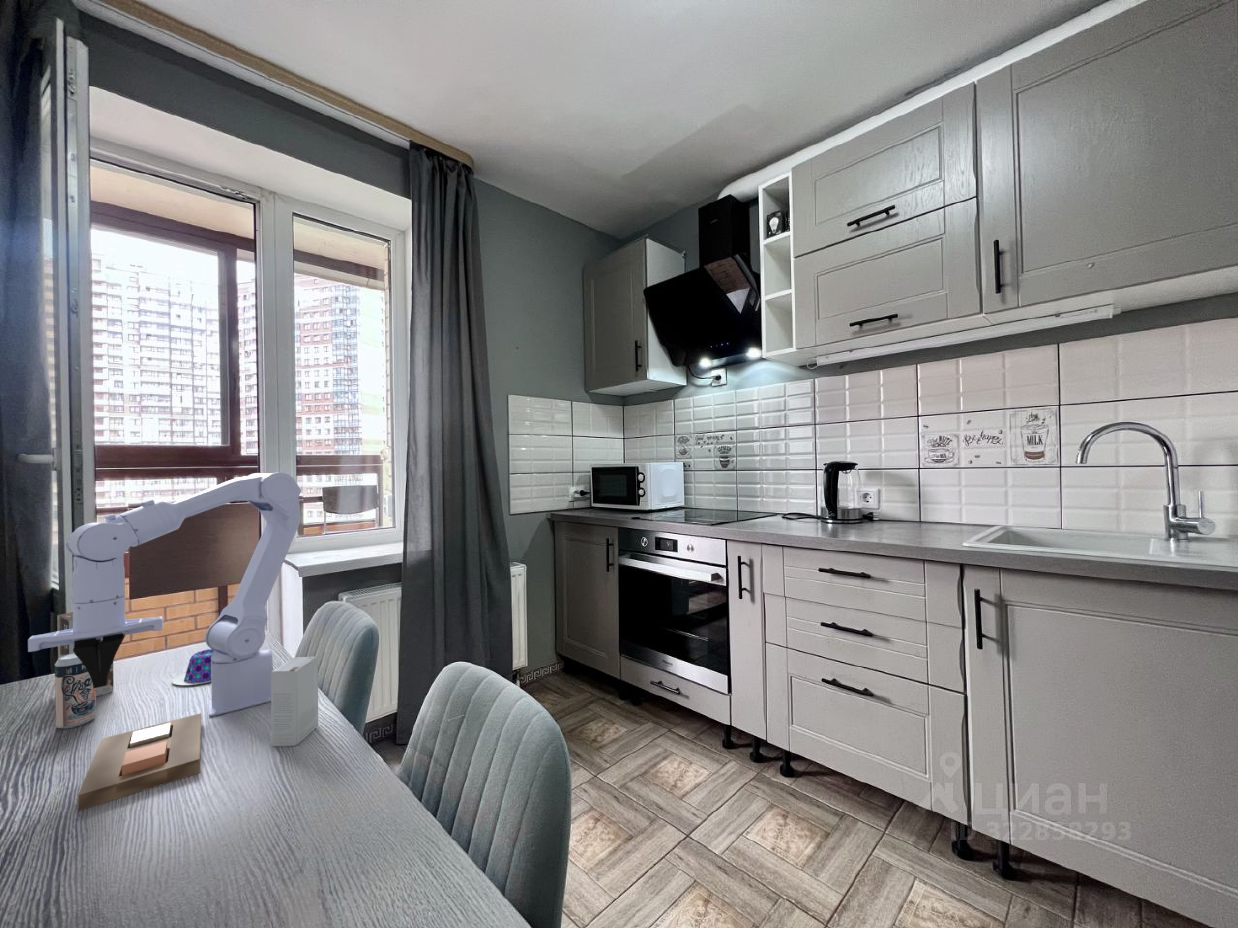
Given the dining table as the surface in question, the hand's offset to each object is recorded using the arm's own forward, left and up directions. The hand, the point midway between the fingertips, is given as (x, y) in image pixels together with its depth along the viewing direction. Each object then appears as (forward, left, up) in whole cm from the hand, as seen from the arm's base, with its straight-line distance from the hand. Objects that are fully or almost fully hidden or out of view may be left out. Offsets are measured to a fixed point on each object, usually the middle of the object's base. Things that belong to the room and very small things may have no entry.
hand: (100, 685), depth 78 cm
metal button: (-6, +4, -10) cm, 13 cm away
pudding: (-13, -27, -11) cm, 32 cm away
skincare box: (-24, +16, -11) cm, 31 cm away
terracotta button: (-6, +13, -10) cm, 18 cm away
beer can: (+5, -16, -11) cm, 20 cm away
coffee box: (+6, -33, -11) cm, 35 cm away
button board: (-6, +9, -10) cm, 15 cm away
